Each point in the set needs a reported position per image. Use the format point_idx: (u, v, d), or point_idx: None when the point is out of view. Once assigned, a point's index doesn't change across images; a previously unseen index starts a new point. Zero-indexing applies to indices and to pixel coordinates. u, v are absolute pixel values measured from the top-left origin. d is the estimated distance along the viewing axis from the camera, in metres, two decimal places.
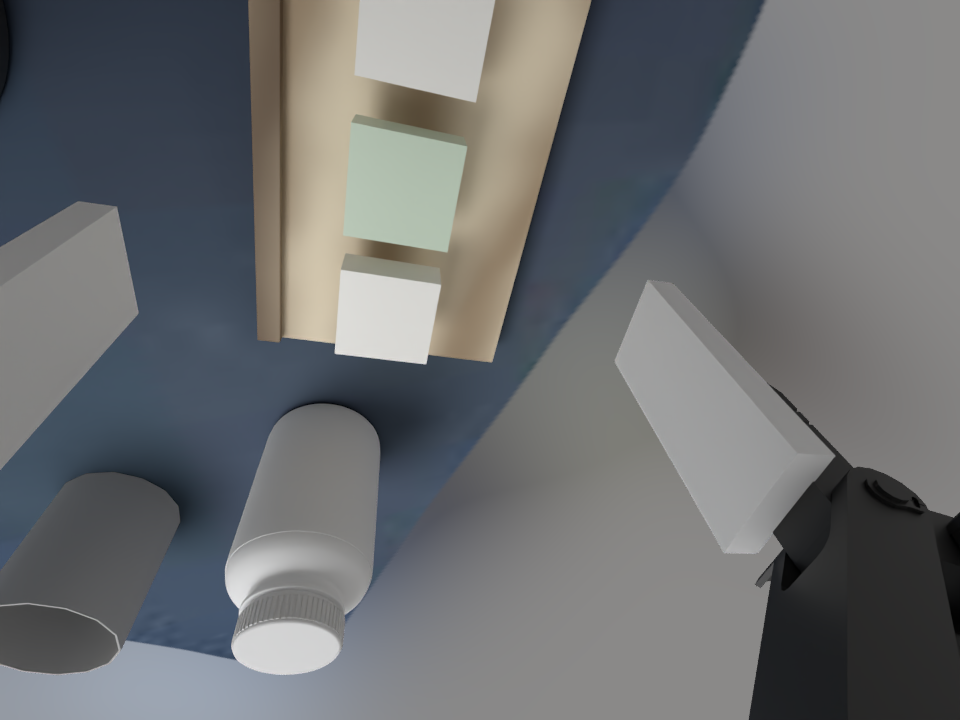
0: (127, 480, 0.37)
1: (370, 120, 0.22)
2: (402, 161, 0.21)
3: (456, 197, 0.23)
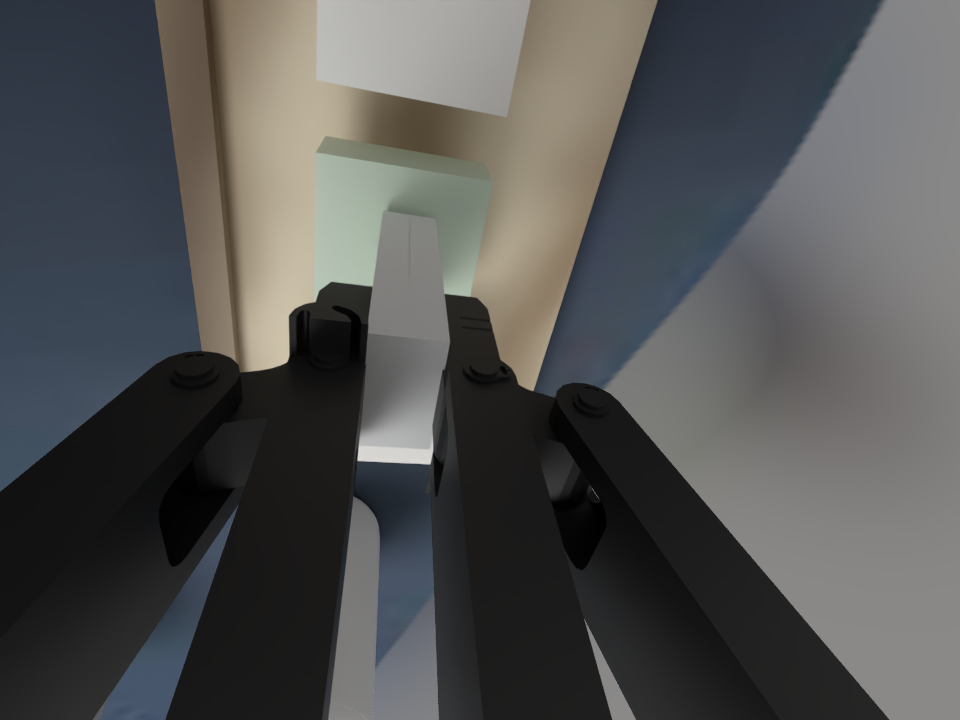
0: None
1: (346, 145, 0.14)
2: (396, 206, 0.14)
3: (476, 253, 0.15)
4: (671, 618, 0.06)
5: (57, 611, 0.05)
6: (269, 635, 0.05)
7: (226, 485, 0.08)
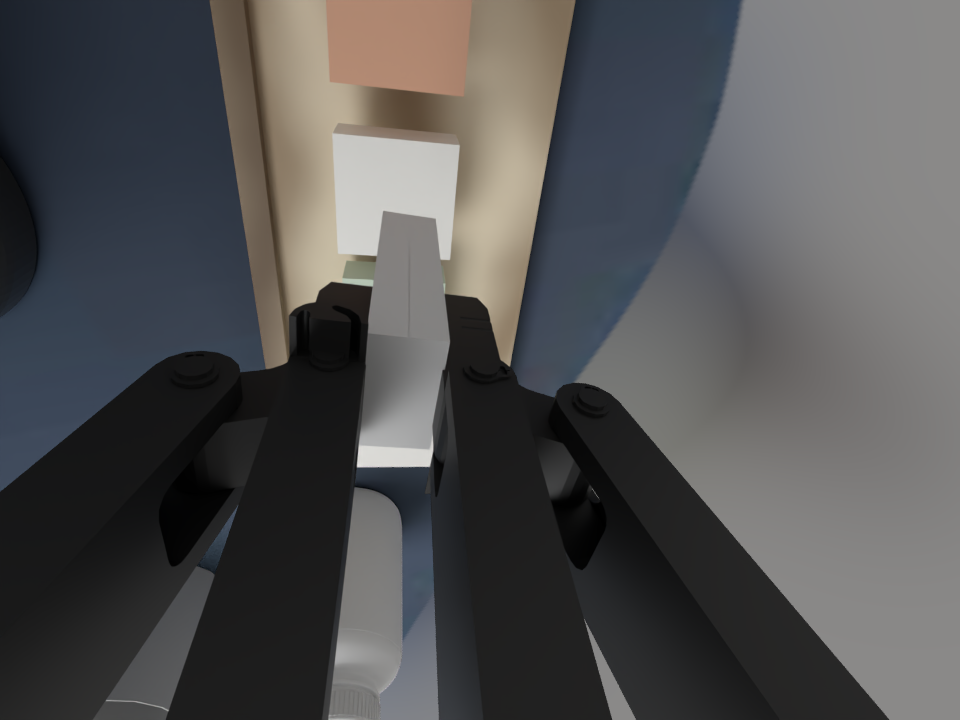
0: None
1: (359, 267, 0.25)
2: None
3: None
4: (672, 619, 0.06)
5: (57, 611, 0.05)
6: (268, 635, 0.05)
7: (226, 485, 0.08)
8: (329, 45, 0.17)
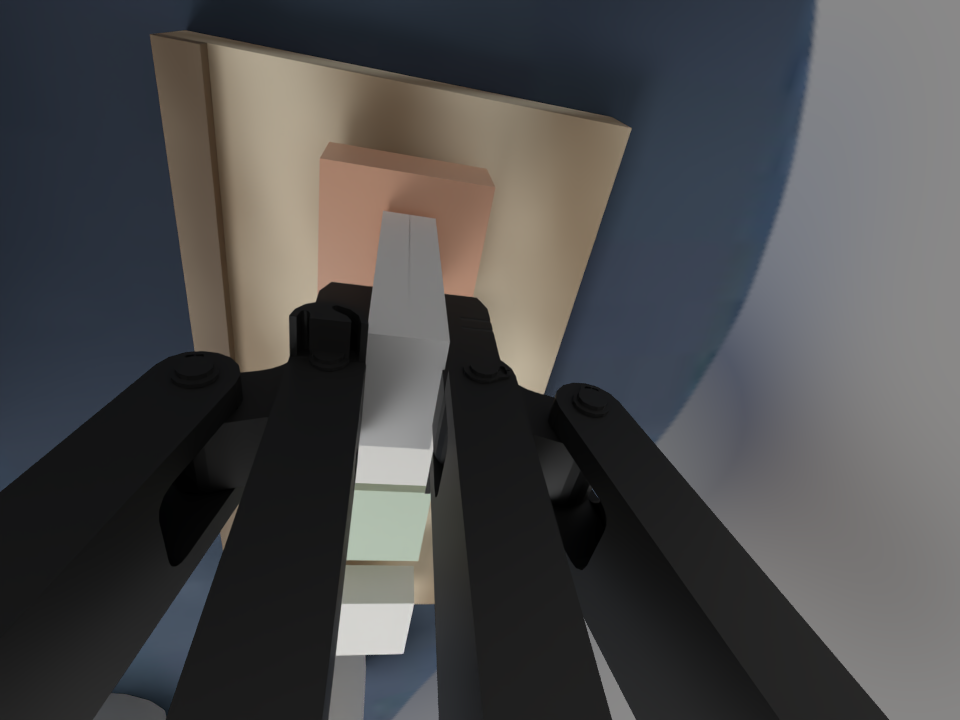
0: (110, 700, 0.37)
1: None
2: (368, 508, 0.22)
3: (424, 525, 0.23)
4: (672, 619, 0.06)
5: (57, 611, 0.05)
6: (269, 636, 0.05)
7: (226, 485, 0.08)
8: (319, 283, 0.15)
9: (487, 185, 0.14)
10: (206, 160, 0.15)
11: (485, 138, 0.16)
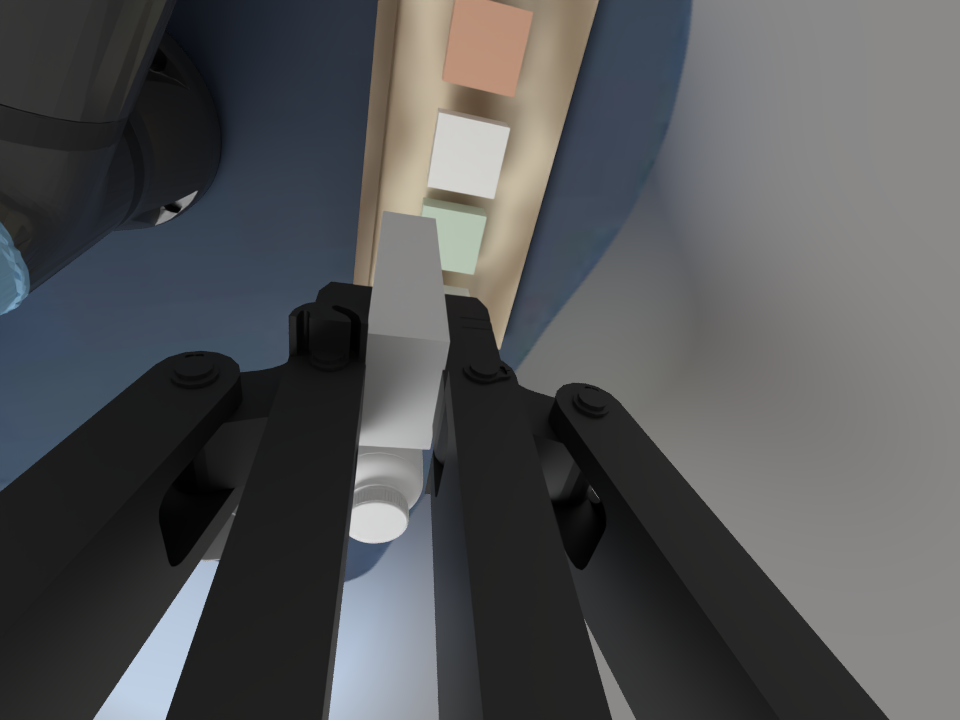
0: None
1: (432, 201, 0.38)
2: (450, 225, 0.38)
3: (479, 243, 0.39)
4: (671, 618, 0.06)
5: (57, 611, 0.05)
6: (269, 634, 0.05)
7: (226, 485, 0.08)
8: (446, 61, 0.32)
9: (529, 11, 0.31)
10: None
11: None
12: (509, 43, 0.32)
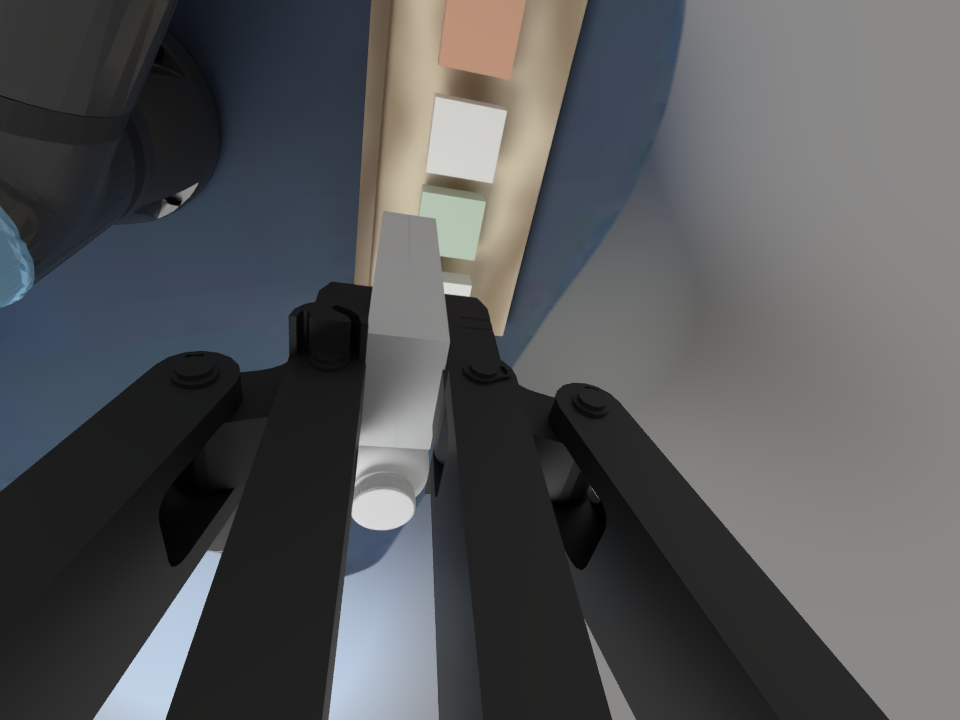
0: None
1: (431, 188, 0.38)
2: (449, 211, 0.38)
3: (479, 229, 0.39)
4: (672, 619, 0.06)
5: (57, 611, 0.05)
6: (268, 635, 0.05)
7: (226, 485, 0.08)
8: (441, 45, 0.32)
9: None
10: None
11: None
12: (504, 25, 0.32)
